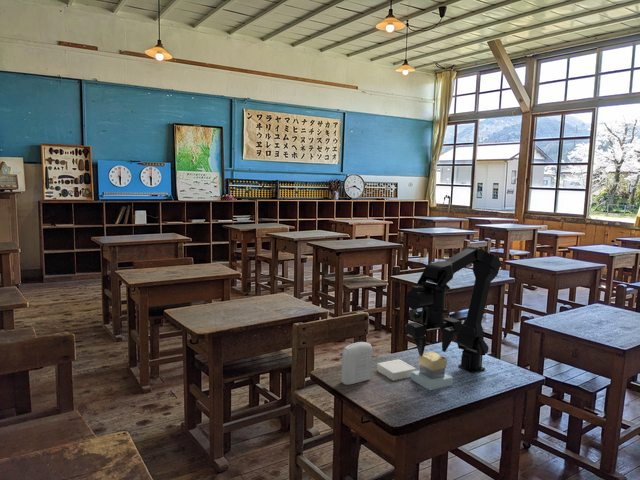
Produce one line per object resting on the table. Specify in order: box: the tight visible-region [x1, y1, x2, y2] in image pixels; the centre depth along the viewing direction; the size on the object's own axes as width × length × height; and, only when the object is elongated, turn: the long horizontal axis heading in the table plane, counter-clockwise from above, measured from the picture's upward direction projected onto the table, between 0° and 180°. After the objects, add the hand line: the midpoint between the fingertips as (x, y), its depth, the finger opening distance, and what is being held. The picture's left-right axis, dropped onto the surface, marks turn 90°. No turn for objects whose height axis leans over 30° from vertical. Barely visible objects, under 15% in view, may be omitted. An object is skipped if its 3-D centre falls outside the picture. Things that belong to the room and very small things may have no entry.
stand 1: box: [376, 359, 417, 382], centre depth 159 cm, size 9×9×2 cm
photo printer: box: [341, 341, 373, 386], centre depth 152 cm, size 10×4×12 cm, turn 123°
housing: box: [418, 351, 448, 379], centre depth 152 cm, size 7×6×6 cm
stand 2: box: [410, 369, 454, 391], centre depth 152 cm, size 9×9×2 cm
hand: (432, 353), depth 151 cm, fingers open, 9 cm apart
